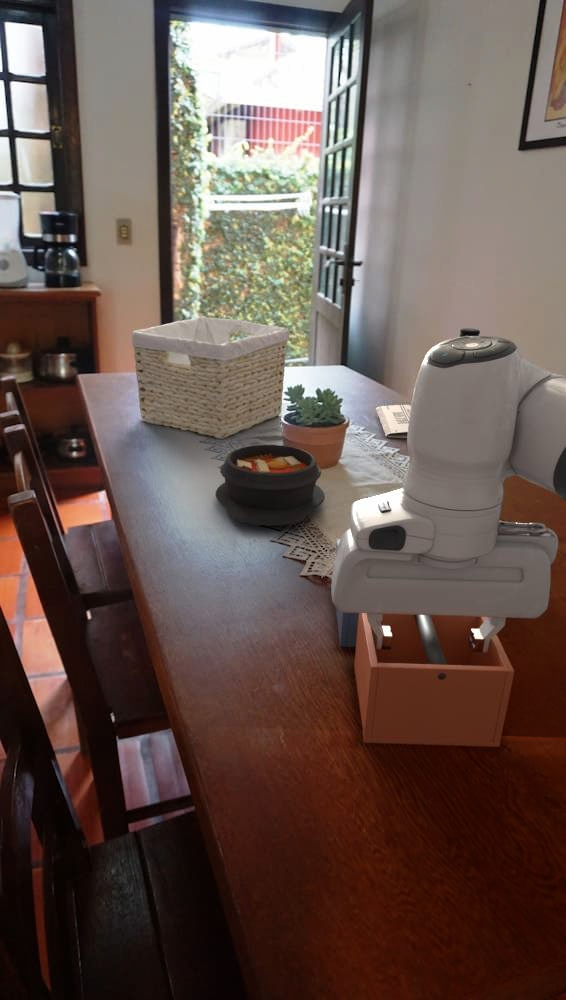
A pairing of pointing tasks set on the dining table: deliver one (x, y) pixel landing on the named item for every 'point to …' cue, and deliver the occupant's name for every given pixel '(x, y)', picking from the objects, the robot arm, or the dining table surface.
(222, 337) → the basket
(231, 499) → the casserole
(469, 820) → the dining table surface
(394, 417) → the newspaper
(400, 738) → the orange bin
